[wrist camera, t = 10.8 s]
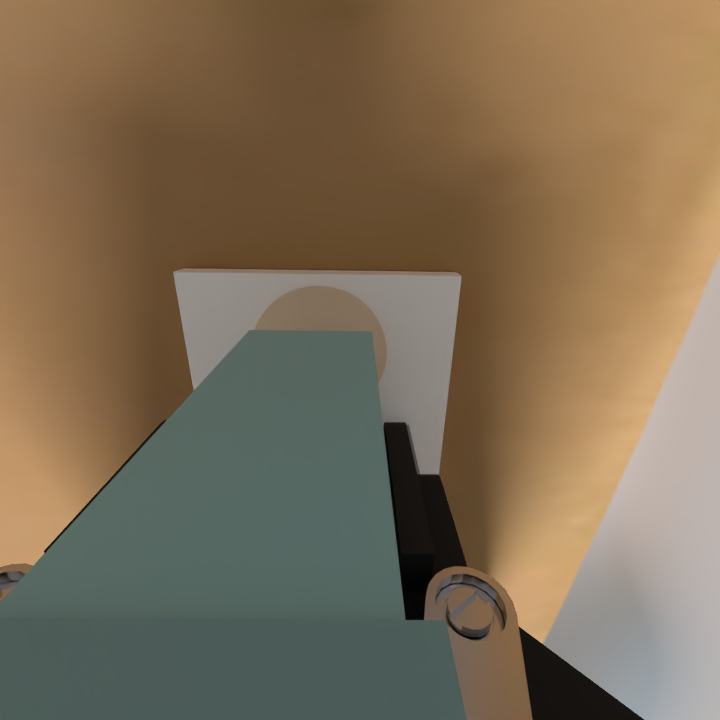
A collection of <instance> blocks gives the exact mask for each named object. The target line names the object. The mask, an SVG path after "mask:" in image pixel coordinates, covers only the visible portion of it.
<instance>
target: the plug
mask: <svg viewBox="0 0 720 720" xmlns="http://www.w3.org/2000/svg"><path fill="white" fill-rule="evenodd" d="M0 720H467V718H466V713H465V709H464V704H463V699H462V695H461V690H460V685H459V681H458V676H457V671H456V667H455V662H454V657H453V652H452V648H451V643H450V638H449V634H448V629H447V624H446V620H405V611H404V603H403V594H402V586H401V577H400V568H399V560H398V551H397V542H396V534H395V525H394V516H393V508H392V499H391V490H390V482H389V473H388V464H387V456H386V447H385V439H384V430H383V421H382V413H381V404H380V395H379V387H378V378H377V369H376V361H375V352H374V343H373V335H372V331H303V330H249V331H248V332H247V333H246V334H245V335H244V336H243V338H242V339H241V340H240V341H239V342H238V343H237V344H236V345H235V346H234V347H233V348H232V350H231V351H230V352H229V353H228V354H227V355H226V356H225V357H224V358H223V359H222V360H221V362H220V363H219V364H218V365H217V366H216V367H215V368H214V369H213V370H212V371H211V372H210V374H209V375H208V376H207V377H206V378H205V379H204V380H203V381H202V382H201V383H200V384H199V386H198V387H197V388H196V389H195V390H194V391H193V392H192V393H191V394H190V395H189V396H188V398H187V399H186V400H185V401H184V402H183V403H182V404H181V405H180V406H179V407H178V408H177V410H176V411H175V412H174V413H173V414H172V415H171V416H170V417H169V418H168V419H167V421H166V422H165V423H164V424H163V425H162V426H161V427H160V428H159V429H158V430H157V431H156V433H155V434H154V435H153V436H152V437H151V438H150V439H149V440H148V441H147V442H146V443H145V445H144V446H143V447H142V448H141V449H140V450H139V451H138V452H137V453H136V454H135V455H134V457H133V458H132V459H131V460H130V461H129V462H128V463H127V464H126V465H125V466H124V467H123V469H122V470H121V471H120V472H119V473H118V474H117V475H116V476H115V477H114V478H113V479H112V481H111V482H110V483H109V484H108V485H107V486H106V487H105V488H104V489H103V490H102V492H101V493H100V494H99V495H98V496H97V497H96V498H95V499H94V500H93V501H92V502H91V504H90V505H89V506H88V507H87V508H86V509H85V510H84V511H83V512H82V513H81V514H80V516H79V517H78V518H77V519H76V520H75V521H74V522H73V523H72V524H71V525H70V526H69V528H68V529H67V530H66V531H65V532H64V533H63V534H62V535H61V536H60V537H59V538H58V540H57V541H56V542H55V543H54V544H53V545H52V546H51V547H50V548H49V549H48V550H47V552H46V553H45V554H44V555H43V556H42V557H41V558H40V559H39V560H38V561H37V563H36V564H35V565H34V566H33V567H32V568H31V569H30V570H29V571H28V572H27V573H26V575H25V576H24V577H23V578H22V579H21V580H20V581H19V582H18V583H17V584H16V585H15V587H14V588H13V589H12V590H11V591H10V592H9V593H8V594H7V595H6V596H5V597H4V599H3V600H2V601H1V602H0Z"/></svg>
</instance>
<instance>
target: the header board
mask: <svg viewBox="0 0 720 720" xmlns="http://www.w3.org/2000/svg"><path fill="white" fill-rule="evenodd" d="M173 275H174V280H175V286H176V292H177V298H178V304H179V309H180V315H181V321H182V327H183V333H184V338H185V344H186V350H187V356H188V362H189V367H190V373H191V379H192V385H193V390H195V389H196V388H197V387H198V386H199V384H200V383H201V382H202V381H203V380H204V379H205V378H206V377H207V376H208V375H209V374H210V372H211V371H212V370H213V369H214V368H215V367H216V366H217V365H218V364H219V363H220V362H221V360H222V359H223V358H224V357H225V356H226V355H227V354H228V353H229V352H230V351H231V350H232V348H233V347H234V346H235V345H236V344H237V343H238V342H239V341H240V340H241V339H242V338H243V336H244V335H245V334H246V333H247V332H248V331H249V330H303V331H372V335H373V343H374V352H375V361H376V369H377V378H378V387H379V395H380V404H381V413H382V421H383V428H384V422H405V423H406V426H407V430H408V435H409V439H410V444H411V448H412V453H413V457H414V462H415V466H416V471H417V474H438V475H439V469H440V460H441V451H442V443H443V434H444V425H445V417H446V408H447V399H448V391H449V382H450V373H451V365H452V356H453V348H454V339H455V330H456V322H457V313H458V304H459V296H460V287H461V278H462V276H461V275H460V274H458V273H457V272H417V271H343V270H269V269H195V268H183V269H180V270H178V271H175V272H173Z"/></svg>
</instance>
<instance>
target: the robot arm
mask: <svg viewBox="0 0 720 720" xmlns="http://www.w3.org/2000/svg"><path fill="white" fill-rule="evenodd" d="M166 421H167V420H164V421H163V422H162V423H161V424H160V425H159V426H158V427H157V428H156V429H155V430H154V431H153V432H152V434H151V435H150V436H149V437H148V438H147V439H146V440H145V441H144V442H143V443H142V445H141V446H140V447H139V448H138V449H137V450H136V451H135V452H134V453H133V454H132V455H131V457H130V458H129V459H128V460H127V461H126V462H125V463H124V464H123V465H122V466H121V467H120V469H119V470H118V471H117V472H116V473H115V474H114V475H113V476H112V477H111V478H110V480H109V481H108V482H107V483H106V484H105V485H104V486H103V487H102V488H101V489H100V490H99V492H98V493H97V494H96V495H95V496H94V497H93V498H92V499H91V500H90V501H89V503H88V504H87V505H86V506H85V507H84V508H83V509H82V510H81V511H80V512H79V513H78V515H77V516H76V517H75V518H74V519H73V520H72V521H71V522H70V523H69V524H68V525H67V527H66V528H65V529H64V530H63V531H62V532H61V533H60V534H59V535H58V536H57V538H56V539H55V540H54V541H53V542H52V543H51V544H50V545H49V546H48V547H47V548H46V550H45V551H44V552H45V553H46V552H47V550H48V549H49V548H50V547H51V546H52V545H53V544H54V543H55V542H56V541H57V540H58V538H59V537H60V536H61V535H62V534H63V533H64V532H65V531H66V530H67V529H68V528H69V526H70V525H71V524H72V523H73V522H74V521H75V520H76V519H77V518H78V517H79V516H80V514H81V513H82V512H83V511H84V510H85V509H86V508H87V507H88V506H89V505H90V504H91V502H92V501H93V500H94V499H95V498H96V497H97V496H98V495H99V494H100V493H101V492H102V490H103V489H104V488H105V487H106V486H107V485H108V484H109V483H110V482H111V481H112V479H113V478H114V477H115V476H116V475H117V474H118V473H119V472H120V471H121V470H122V469H123V467H124V466H125V465H126V464H127V463H128V462H129V461H130V460H131V459H132V458H133V457H134V455H135V454H136V453H137V452H138V451H139V450H140V449H141V448H142V447H143V446H144V445H145V443H146V442H147V441H148V440H149V439H150V438H151V437H152V436H153V435H154V434H155V433H156V431H157V430H158V429H159V428H160V427H161V426H162V425H163V424H164V423H165V422H166ZM383 430H384V439H385V447H386V456H387V464H388V473H389V482H390V490H391V499H392V508H393V516H394V525H395V534H396V542H397V551H398V560H399V568H400V577H401V586H402V594H403V603H404V611H405V620H446V624H447V629H448V634H449V638H450V643H451V648H452V652H453V657H454V662H455V667H456V671H457V676H458V681H459V685H460V690H461V695H462V699H463V704H464V709H465V713H466V718H467V720H644V719H642V718H641V717H640V716H638V715H637V714H636V713H634V712H633V711H632V710H630V709H629V708H628V707H626V706H625V705H624V704H622V703H621V702H620V701H618V700H617V699H615V698H614V697H613V696H612V695H610V694H609V693H607V692H606V691H605V690H603V689H602V688H601V687H599V686H598V685H596V684H595V683H594V682H593V681H591V680H590V679H589V678H587V677H586V676H585V675H583V674H582V673H581V672H579V671H578V670H576V669H575V668H573V667H572V666H571V665H570V664H568V663H567V662H566V661H564V660H563V659H561V658H560V657H559V656H558V655H556V654H555V653H554V652H552V651H551V650H550V649H548V648H547V647H546V646H544V645H543V644H542V643H540V642H539V641H538V640H536V639H535V638H533V637H532V636H531V635H529V634H528V633H527V632H525V631H524V630H523V629H521V628H520V627H519V626H518V620H517V614H516V611H515V608H514V604H513V601H512V600H511V598H510V597H509V595H508V594H507V592H506V590H505V589H504V588H503V587H502V586H501V585H500V584H499V583H498V582H497V581H496V580H495V579H494V578H492V577H490V576H489V575H487V574H485V573H484V572H482V571H479V570H476V569H473V568H470V567H467V564H466V561H465V557H464V554H463V551H462V548H461V544H460V541H459V538H458V534H457V531H456V528H455V524H454V521H453V518H452V515H451V511H450V508H449V505H448V501H447V498H446V495H445V491H444V488H443V485H442V482H441V479H440V476H439V475H438V474H417V471H416V466H415V462H414V457H413V453H412V448H411V444H410V439H409V435H408V430H407V426H406V423H405V422H384V428H383ZM32 567H33V566H32V565H29V564H11V565H7V566H3V567H0V602H1V601H2V600H3V599H4V597H5V596H6V595H7V594H8V593H9V592H10V591H11V590H12V589H13V588H14V587H15V585H16V584H17V583H18V582H19V581H20V580H21V579H22V578H23V577H24V576H25V575H26V573H27V572H28V571H29V570H30V569H31V568H32Z"/></svg>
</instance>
